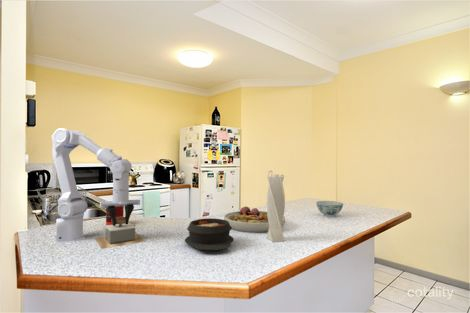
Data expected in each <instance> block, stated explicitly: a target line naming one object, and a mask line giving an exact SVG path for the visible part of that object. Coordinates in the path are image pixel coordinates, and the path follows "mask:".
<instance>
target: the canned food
mask: <svg viewBox="0 0 470 313" xmlns="http://www.w3.org/2000/svg"><path fill="white" fill-rule="evenodd" d="M116 205H123V204H116ZM115 209H116V218H117V217H125V206H116V207H115ZM106 225H113V224H112V219H111V216H110V214H109V211H108V209H107V207H105V226H106Z"/></svg>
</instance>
